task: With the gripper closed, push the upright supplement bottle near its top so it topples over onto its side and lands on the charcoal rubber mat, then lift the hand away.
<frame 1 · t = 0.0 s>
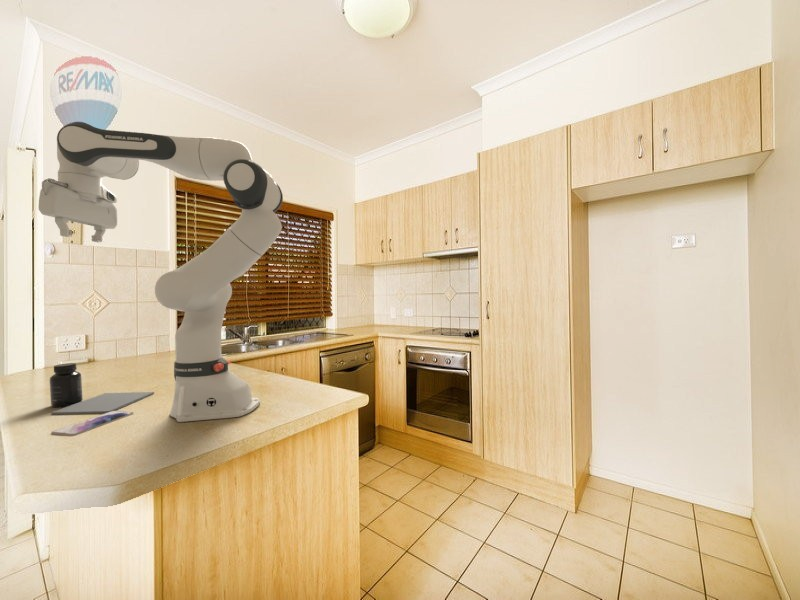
hand: (82, 239, 93), 48 cm above the table, tool pointing down, fingers open, 8 cm apart
smartphone: (95, 425, 87), on the table
supplement bottle: (66, 404, 102), on the table
rubber mat: (107, 403, 102), on the table
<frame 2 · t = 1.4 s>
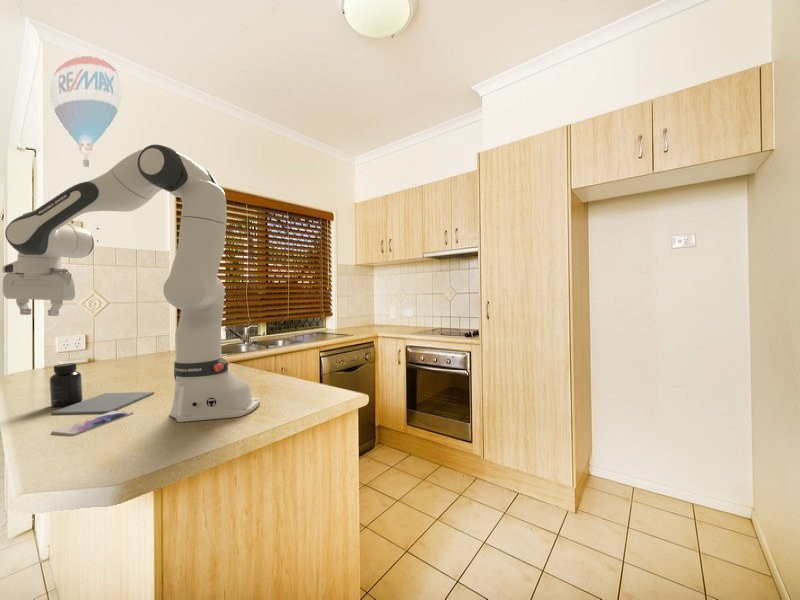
hand: (39, 315, 100), 27 cm above the table, tool pointing down, fingers open, 8 cm apart
nothing on the table moved.
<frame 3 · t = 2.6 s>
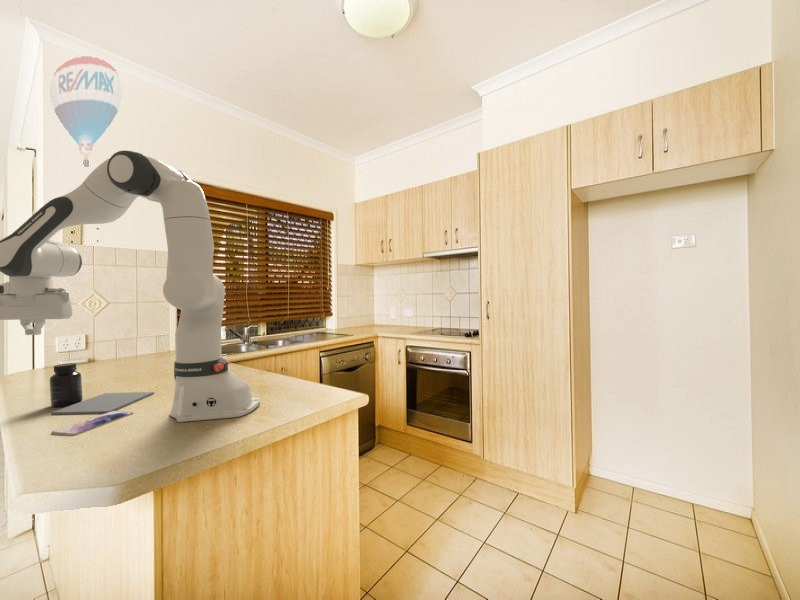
hand: (33, 334, 101), 21 cm above the table, tool pointing down, fingers closed
nothing on the table moved.
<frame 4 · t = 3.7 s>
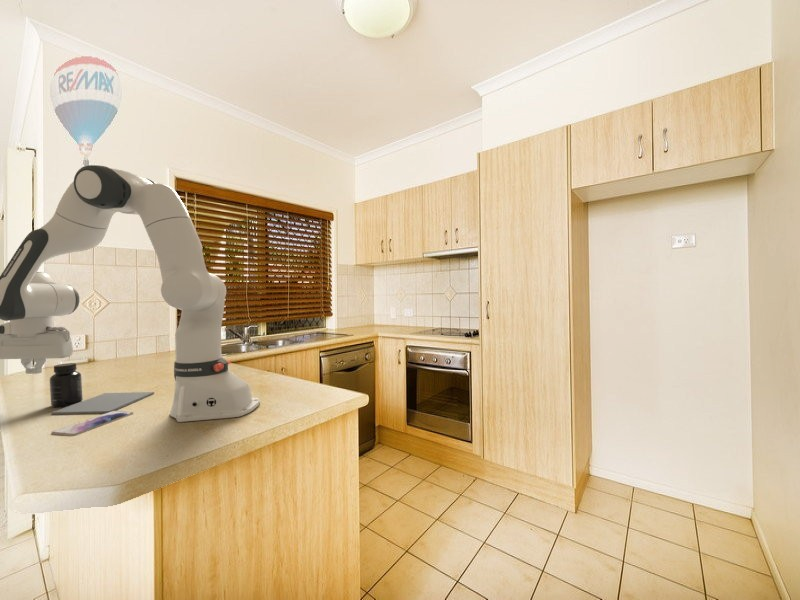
hand: (33, 373, 101), 9 cm above the table, tool pointing down, fingers closed
nothing on the table moved.
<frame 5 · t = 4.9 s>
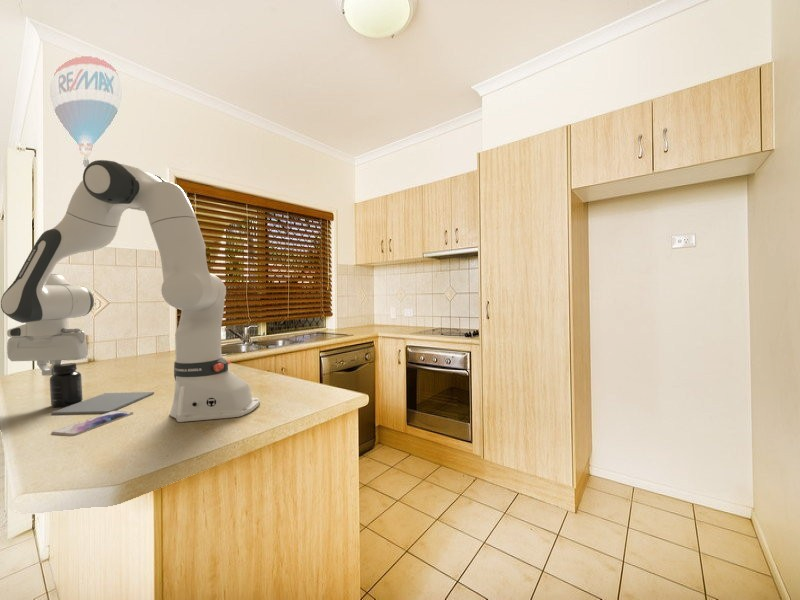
hand: (49, 375, 101), 9 cm above the table, tool pointing down, fingers closed
supplement bottle: (66, 404, 102), on the table, touching gripper
everything else where it was.
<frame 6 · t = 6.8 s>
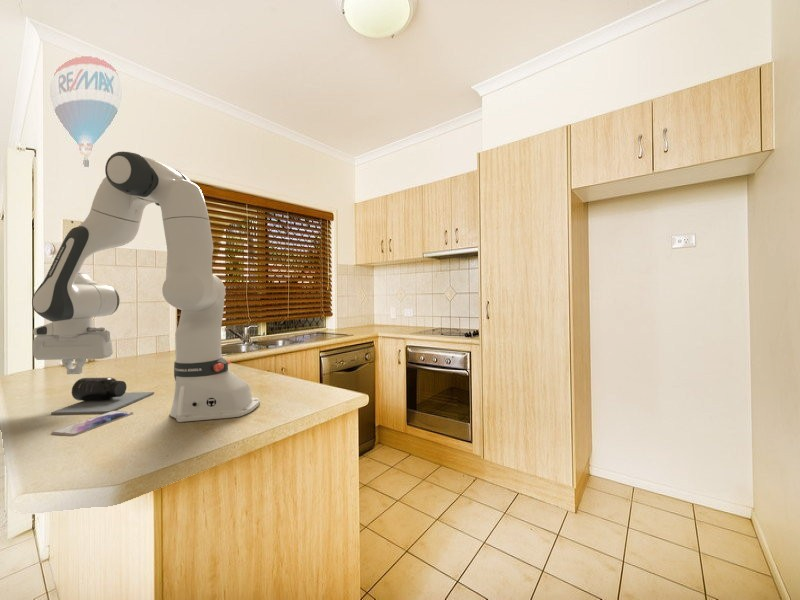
hand: (74, 373, 102), 9 cm above the table, tool pointing down, fingers closed
supplement bottle: (80, 388, 103), point 4 cm above the table, touching rubber mat
everything else where it was.
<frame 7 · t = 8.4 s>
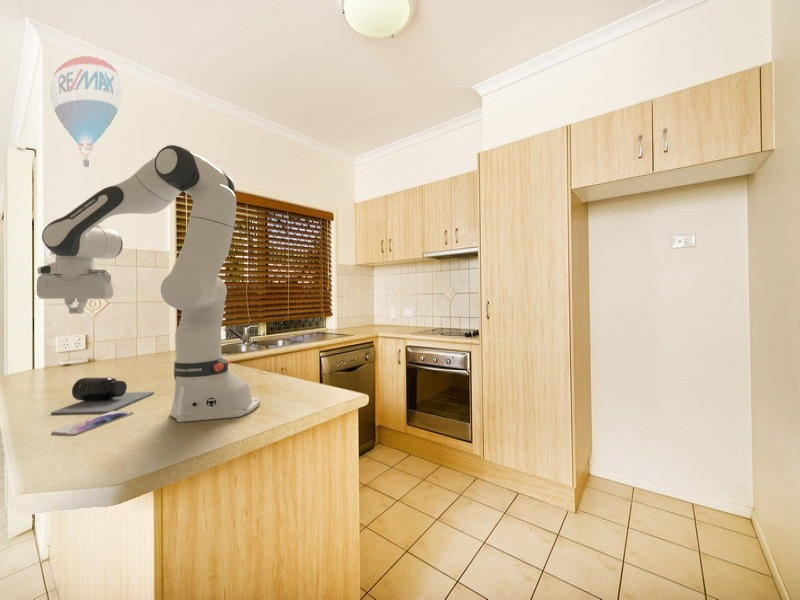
hand: (76, 313, 106), 27 cm above the table, tool pointing down, fingers closed
nothing on the table moved.
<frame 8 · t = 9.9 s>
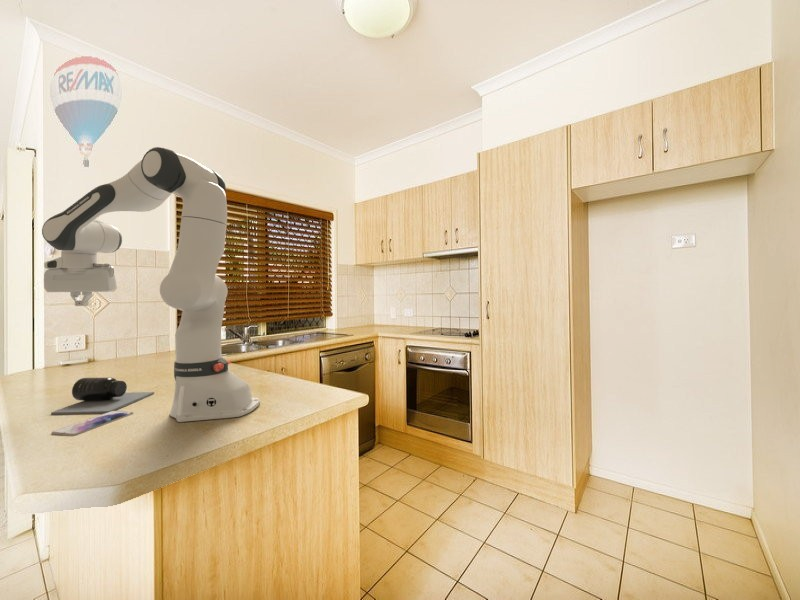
hand: (81, 306, 111), 29 cm above the table, tool pointing down, fingers closed
nothing on the table moved.
at the end: supplement bottle tilted 91°; supplement bottle touching rubber mat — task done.
